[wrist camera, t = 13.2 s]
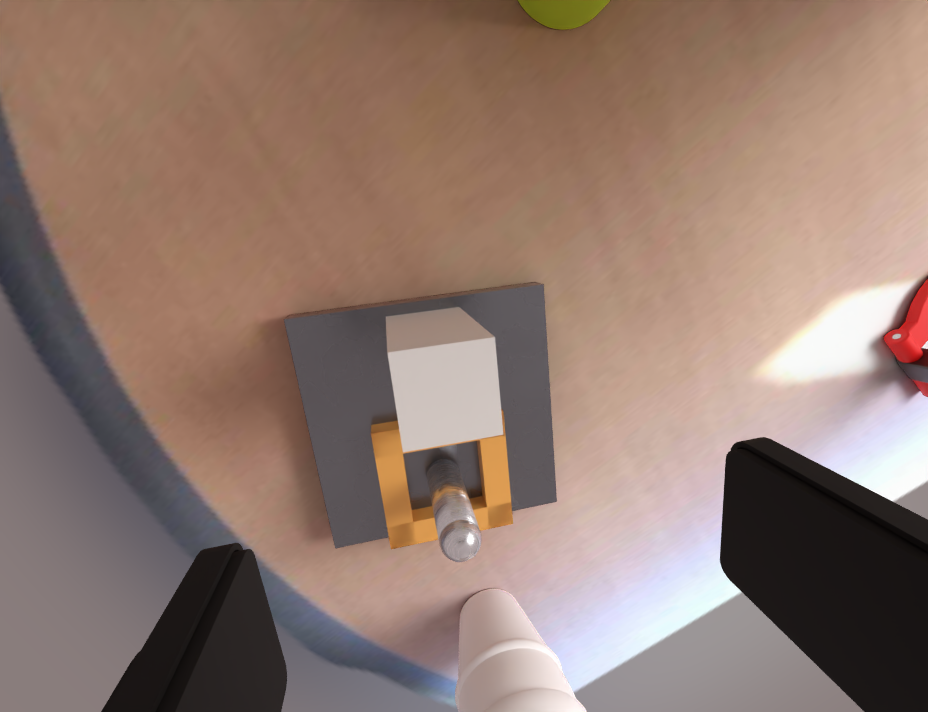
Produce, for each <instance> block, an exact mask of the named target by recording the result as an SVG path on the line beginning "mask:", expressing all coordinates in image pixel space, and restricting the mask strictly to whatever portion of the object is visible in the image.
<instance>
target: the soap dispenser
mask: <svg viewBox="0 0 928 712" xmlns="http://www.w3.org/2000/svg"><path fill="white" fill-rule="evenodd" d="M610 1H611V0H518V2H519V3H520V5H521V6H522V8H523V9H524V10H525V11H526V12H527V13H528V14H529V15H530V16H531V17H532V18H533V19H534V20H536V21H537V22H539V23H540V24H542V25H544V26H547V27H550V28H553V29H560V30H566V29H573V28H577V27H580V26H582V25H584V24H586V23H587V22H589V21H590V20H592V19H593V18H594V17H595V16H596V15H597V14H598V13H599V12H600V11H601V10H602V9H603V8H604V7H605V6H606V5H607V4H608V3H609V2H610Z"/></svg>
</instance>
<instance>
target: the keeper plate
mask: <svg viewBox="0 0 928 712" xmlns="http://www.w3.org/2000/svg"><path fill="white" fill-rule="evenodd" d="M455 307H460V308H461V309H462V310H463V311H465V312H466V313H467V314H468V315H469V316H470V317H472V318H473V319H474V320H475V321H476V322H478V323H479V324H480V325H481V326H482V327H484V328H485V329H486V330H487V331H488V332H490V333H491V334H492V335H493V336H494V337H495V343H496V355H497V367H498V378H499V390H500V401H501V409H502V410H503V412H504V423H505V435H506V447H507V459H508V470H509V482H510V494H511V506H512V511H515V510H519V509H524V508H529V507H534V506H538V505H543V504H548V503H553V502H557V498H556V481H555V465H554V449H553V432H552V416H551V399H550V383H549V366H548V350H547V334H546V317H545V301H544V284H540V283H536V282H531V283H524V284H516V285H509V286H501V287H494V288H486V289H479V290H471V291H464V292H456V293H449V294H442V295H434V296H427V297H419V298H412V299H404V300H397V301H389V302H382V303H374V304H367V305H360V306H352V307H345V308H337V309H330V310H322V311H315V312H307V313H300V314H292V315H289V316H288V317H286V318H285V319H284V322H285V327H286V331H287V336H288V340H289V344H290V349H291V353H292V358H293V362H294V367H295V371H296V376H297V380H298V385H299V389H300V393H301V398H302V402H303V407H304V411H305V416H306V420H307V425H308V429H309V433H310V438H311V442H312V447H313V451H314V456H315V460H316V465H317V469H318V474H319V478H320V482H321V487H322V491H323V496H324V500H325V505H326V509H327V514H328V518H329V523H330V527H331V531H332V536H333V540H334V545H335V548H339V547H344V546H349V545H353V544H358V543H363V542H368V541H372V540H377V539H382V538H387V537H389V535H388V529H387V524H386V518H385V512H384V506H383V501H382V495H381V489H380V484H379V478H378V472H377V466H376V461H375V455H374V449H373V444H372V438H371V425H374V424H380V423H386V422H392V421H398V418H397V411H396V405H395V398H394V392H393V386H392V379H391V373H390V366H389V360H388V353H387V335H386V316H394V315H401V314H409V313H417V312H424V311H432V310H439V309H447V308H455ZM403 457H404V463H405V469H406V476H407V482H408V489H409V495H410V502H411V508H412V510H415V509H420V508H425V507H430V506H432V508H433V513H434V519H435V524H436V529H437V534H438V540H439V545H440V548H441V550H442V552H443V553H444V555H445V556H446V557H447V558H449V559H450V560H452V561H455V562H465V561H468V560H470V559H471V558H473V557H474V556H475V555H476V554H477V552H478V551H479V548H480V546H481V532H480V529H479V526H478V523H477V520H476V518H475V515H474V512H473V509H472V506H471V503H470V500H469V499H470V498H475V497H480V496H482V487H481V477H480V468H479V458H478V448H477V441H472V442H466V443H461V444H455V445H450V446H444V447H438V448H433V449H427V450H421V451H416V452H410V453H405V454H403Z"/></svg>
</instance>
